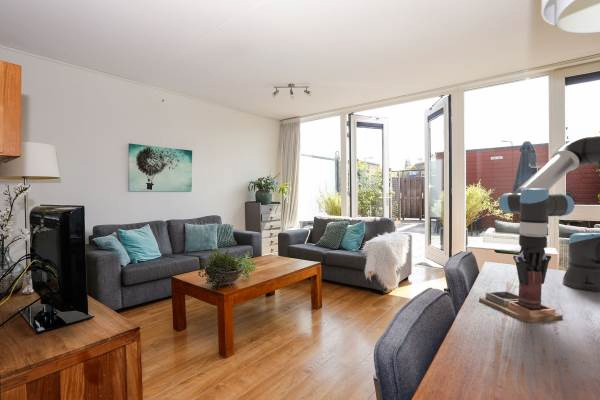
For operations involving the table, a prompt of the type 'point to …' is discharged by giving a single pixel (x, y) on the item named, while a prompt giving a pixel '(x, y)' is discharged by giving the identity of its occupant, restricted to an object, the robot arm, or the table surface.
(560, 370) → the table surface
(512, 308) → the board
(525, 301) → the can
